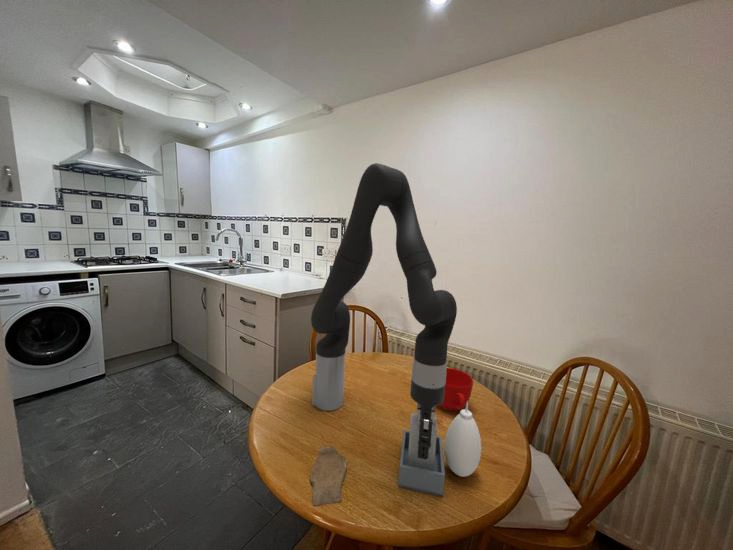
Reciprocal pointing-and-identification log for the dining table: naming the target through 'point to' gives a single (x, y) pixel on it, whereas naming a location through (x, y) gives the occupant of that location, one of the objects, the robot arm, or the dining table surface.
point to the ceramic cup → (456, 389)
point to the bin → (422, 471)
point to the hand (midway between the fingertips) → (422, 443)
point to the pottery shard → (328, 477)
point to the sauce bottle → (463, 444)
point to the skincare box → (413, 446)
